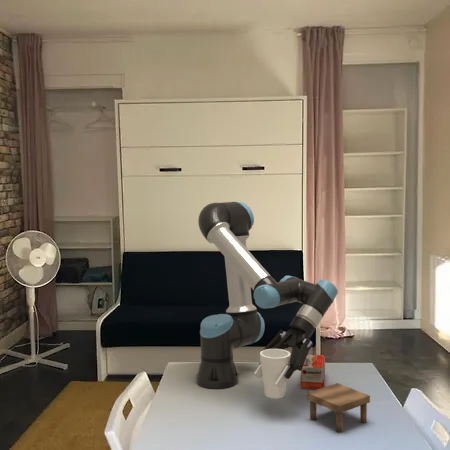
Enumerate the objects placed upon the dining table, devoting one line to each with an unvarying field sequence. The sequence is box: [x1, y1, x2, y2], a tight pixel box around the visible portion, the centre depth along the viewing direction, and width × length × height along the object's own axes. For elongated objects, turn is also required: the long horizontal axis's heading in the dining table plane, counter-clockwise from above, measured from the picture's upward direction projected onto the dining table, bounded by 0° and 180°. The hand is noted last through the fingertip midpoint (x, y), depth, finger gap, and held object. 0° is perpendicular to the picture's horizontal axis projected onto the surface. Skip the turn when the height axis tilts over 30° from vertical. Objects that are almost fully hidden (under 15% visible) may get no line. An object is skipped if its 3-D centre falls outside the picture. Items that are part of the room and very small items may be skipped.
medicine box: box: [300, 354, 326, 390], centre depth 193 cm, size 15×8×8 cm, turn 169°
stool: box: [306, 382, 371, 433], centre depth 161 cm, size 13×13×8 cm
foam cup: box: [259, 349, 292, 399], centre depth 167 cm, size 10×9×13 cm
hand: (267, 381), depth 165 cm, fingers closed on foam cup, 9 cm apart
